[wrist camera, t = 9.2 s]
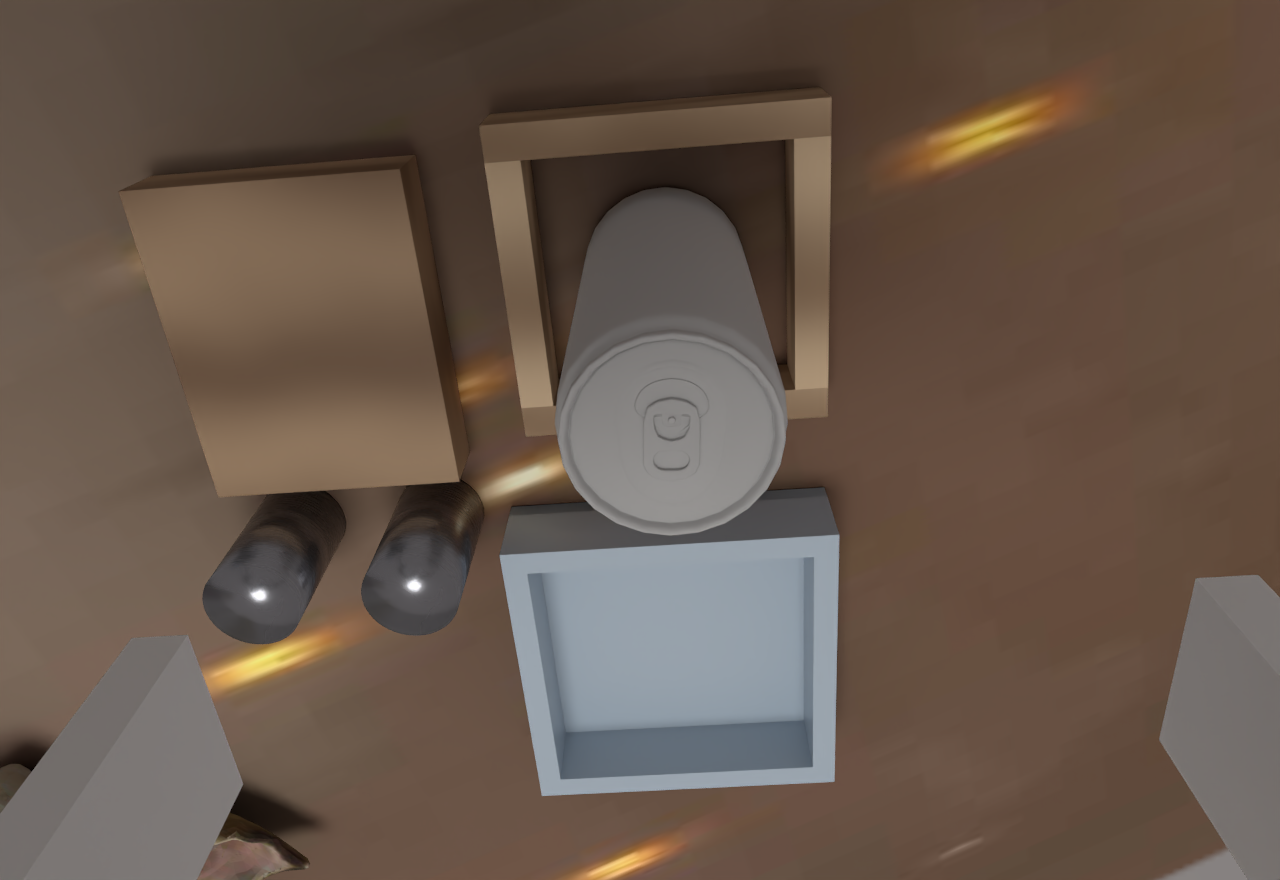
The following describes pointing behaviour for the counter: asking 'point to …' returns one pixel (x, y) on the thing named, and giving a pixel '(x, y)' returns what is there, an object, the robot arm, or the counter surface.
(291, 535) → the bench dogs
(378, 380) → the board
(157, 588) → the counter surface
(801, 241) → the collar
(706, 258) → the beverage can
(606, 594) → the tray
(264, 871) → the ceramic sculpture
